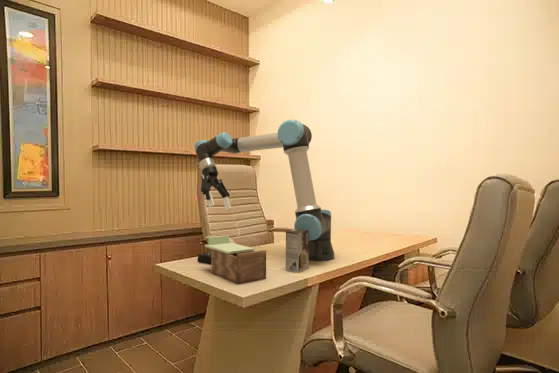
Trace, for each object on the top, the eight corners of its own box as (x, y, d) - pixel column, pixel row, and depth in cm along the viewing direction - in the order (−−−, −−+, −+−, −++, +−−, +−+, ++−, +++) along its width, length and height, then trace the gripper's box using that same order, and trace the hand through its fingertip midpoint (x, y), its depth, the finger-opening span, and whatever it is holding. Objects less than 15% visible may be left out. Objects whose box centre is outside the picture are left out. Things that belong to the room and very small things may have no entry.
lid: (254, 250, 134) (254, 240, 134) (228, 254, 126) (228, 243, 126) (229, 244, 148) (229, 235, 148) (204, 246, 141) (205, 237, 141)
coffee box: (295, 266, 148) (295, 228, 148) (308, 268, 145) (309, 229, 145) (284, 270, 141) (285, 230, 140) (298, 272, 137) (299, 232, 137)
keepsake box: (266, 278, 128) (266, 250, 128) (238, 284, 120) (238, 254, 120) (237, 268, 144) (237, 243, 144) (211, 272, 136) (211, 246, 136)
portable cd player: (222, 257, 168) (222, 248, 168) (250, 261, 159) (250, 252, 159) (197, 263, 154) (197, 254, 154) (226, 268, 145) (226, 259, 145)
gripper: (217, 177, 184) (229, 213, 177) (186, 167, 162) (197, 208, 155) (229, 171, 182) (240, 207, 175) (198, 159, 160) (210, 201, 153)
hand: (220, 207), depth 165 cm, fingers open, 13 cm apart
